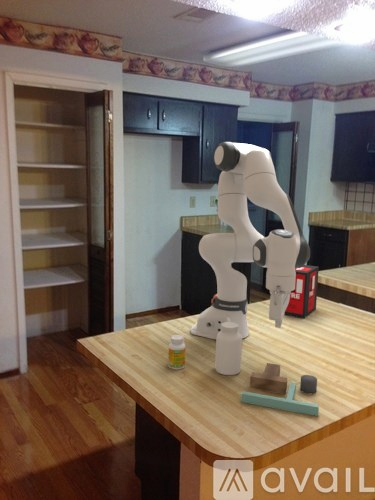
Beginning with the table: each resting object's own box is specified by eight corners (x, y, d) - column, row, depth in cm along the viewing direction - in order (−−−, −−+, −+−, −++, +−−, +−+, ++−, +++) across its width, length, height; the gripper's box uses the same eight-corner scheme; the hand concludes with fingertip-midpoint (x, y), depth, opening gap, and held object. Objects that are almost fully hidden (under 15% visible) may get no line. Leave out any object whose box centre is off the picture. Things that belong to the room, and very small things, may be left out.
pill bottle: (233, 378, 132) (235, 330, 129) (210, 371, 136) (211, 325, 134) (245, 368, 139) (246, 323, 136) (222, 362, 143) (223, 318, 140)
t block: (250, 388, 126) (250, 376, 126) (256, 372, 136) (257, 361, 136) (285, 394, 123) (286, 382, 122) (289, 377, 133) (290, 366, 133)
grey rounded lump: (299, 392, 124) (300, 380, 124) (300, 385, 129) (301, 373, 128) (315, 394, 123) (316, 383, 122) (316, 387, 127) (317, 376, 127)
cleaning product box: (297, 305, 207) (299, 264, 203) (315, 309, 202) (318, 266, 198) (284, 314, 193) (286, 270, 190) (304, 318, 188) (307, 273, 185)
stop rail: (240, 401, 118) (241, 393, 118) (249, 383, 129) (249, 375, 129) (318, 416, 112) (318, 407, 111) (320, 395, 123) (320, 387, 122)
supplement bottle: (172, 371, 136) (173, 341, 135) (165, 364, 141) (165, 335, 139) (188, 367, 139) (188, 338, 137) (180, 361, 143) (180, 333, 142)
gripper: (287, 291, 124) (284, 338, 126) (294, 277, 144) (292, 318, 146) (264, 289, 126) (262, 335, 128) (274, 275, 146) (273, 316, 148)
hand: (278, 326), depth 137 cm, fingers closed
